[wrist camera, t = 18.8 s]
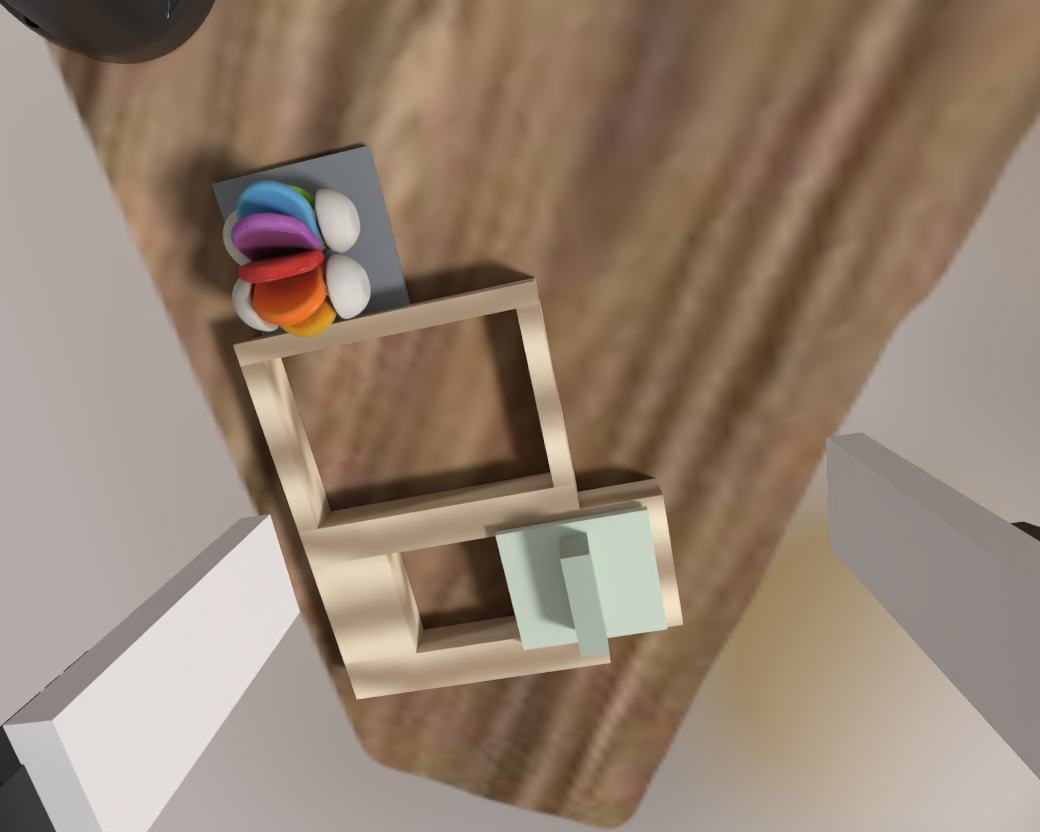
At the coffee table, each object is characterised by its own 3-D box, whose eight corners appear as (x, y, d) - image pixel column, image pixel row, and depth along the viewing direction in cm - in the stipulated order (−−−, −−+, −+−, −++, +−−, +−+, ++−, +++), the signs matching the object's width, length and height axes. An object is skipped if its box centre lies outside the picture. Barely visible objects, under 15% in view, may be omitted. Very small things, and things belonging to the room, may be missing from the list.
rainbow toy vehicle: (263, 351, 41) (193, 335, 34) (242, 212, 41) (170, 167, 34) (382, 329, 40) (337, 308, 33) (361, 187, 40) (312, 135, 33)
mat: (216, 184, 41) (211, 183, 40) (370, 147, 40) (367, 145, 39) (268, 341, 44) (265, 343, 44) (412, 311, 43) (410, 312, 42)
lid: (496, 531, 44) (491, 556, 41) (646, 506, 43) (654, 529, 40) (524, 645, 47) (522, 678, 43) (665, 624, 46) (675, 655, 42)
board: (253, 337, 44) (233, 345, 41) (620, 259, 41) (626, 261, 38) (367, 673, 52) (357, 699, 50) (679, 627, 50) (687, 651, 47)
